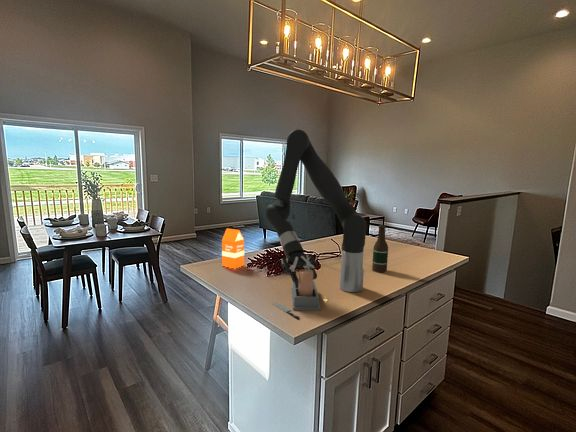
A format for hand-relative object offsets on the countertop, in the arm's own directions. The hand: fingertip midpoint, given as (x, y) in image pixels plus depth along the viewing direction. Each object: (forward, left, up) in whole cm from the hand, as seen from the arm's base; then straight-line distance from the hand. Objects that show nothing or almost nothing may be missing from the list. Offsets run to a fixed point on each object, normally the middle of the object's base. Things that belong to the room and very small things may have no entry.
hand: (306, 280), depth 118 cm
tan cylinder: (0, 0, -8) cm, 8 cm away
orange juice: (+35, -46, -10) cm, 59 cm away
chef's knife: (+8, +5, -10) cm, 14 cm away
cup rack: (0, -4, -9) cm, 10 cm away
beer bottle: (-42, -42, -10) cm, 60 cm away
